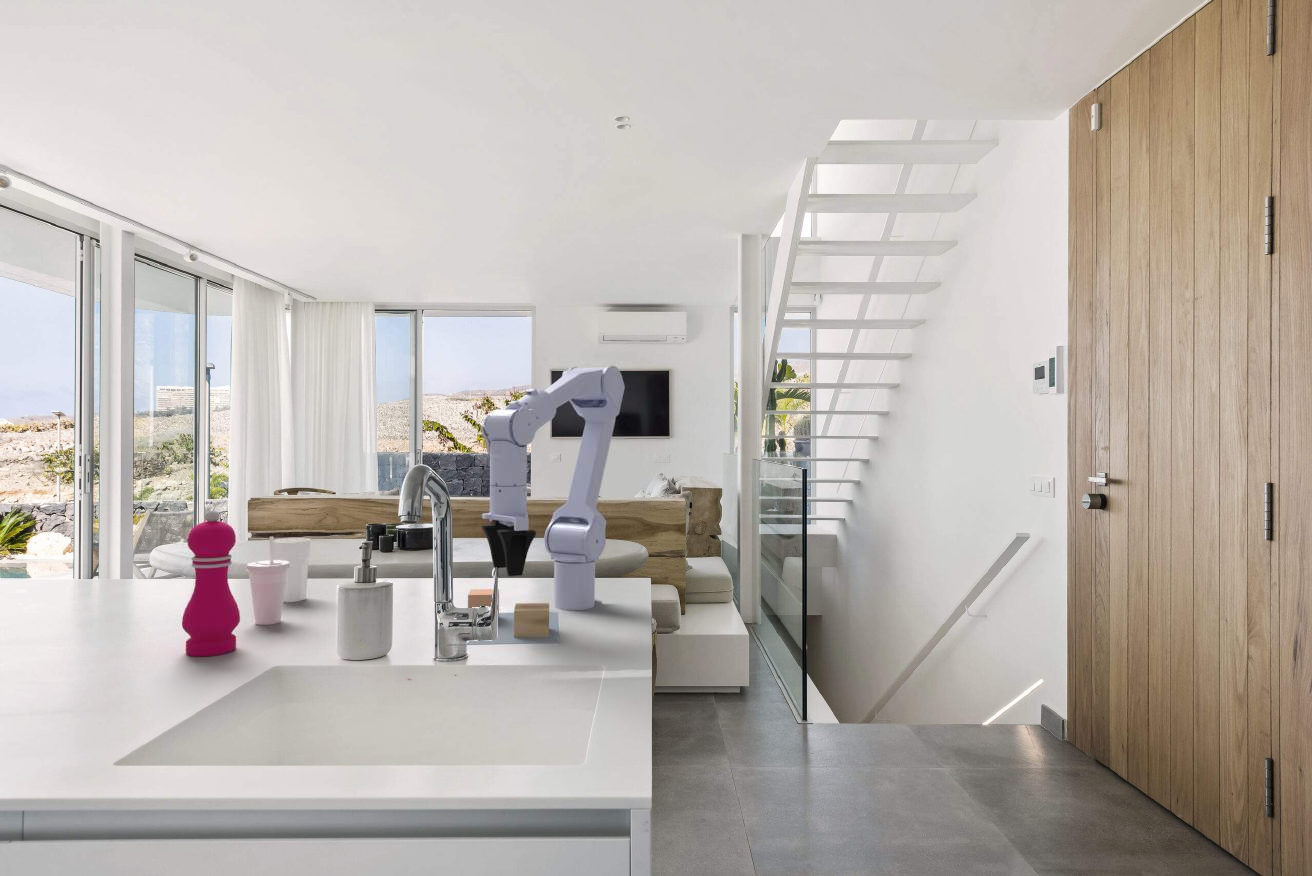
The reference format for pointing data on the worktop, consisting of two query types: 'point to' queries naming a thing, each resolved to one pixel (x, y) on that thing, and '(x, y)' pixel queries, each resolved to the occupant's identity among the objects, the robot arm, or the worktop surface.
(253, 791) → the worktop surface
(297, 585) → the cup
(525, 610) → the oak base block
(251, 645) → the worktop surface
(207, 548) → the pepper mill
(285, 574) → the smoothie
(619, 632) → the worktop surface
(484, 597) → the terracotta block
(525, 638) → the board
